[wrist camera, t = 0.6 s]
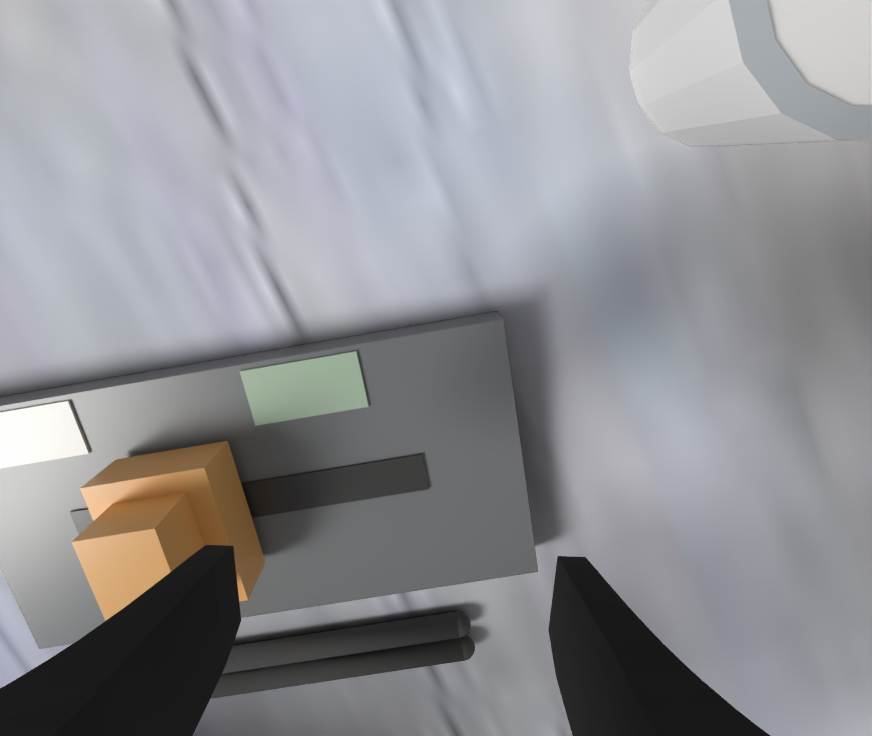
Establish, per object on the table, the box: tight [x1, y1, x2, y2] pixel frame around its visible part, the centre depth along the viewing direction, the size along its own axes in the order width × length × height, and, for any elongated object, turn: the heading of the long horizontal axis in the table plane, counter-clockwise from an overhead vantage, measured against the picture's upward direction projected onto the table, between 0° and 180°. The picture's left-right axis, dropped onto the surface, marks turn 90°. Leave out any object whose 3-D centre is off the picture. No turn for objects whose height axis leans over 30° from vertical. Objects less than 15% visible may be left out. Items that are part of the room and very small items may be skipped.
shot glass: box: [629, 0, 872, 146], centre depth 13 cm, size 7×7×7 cm
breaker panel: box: [0, 311, 538, 649], centre depth 20 cm, size 20×10×2 cm, turn 100°
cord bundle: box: [211, 611, 475, 698], centre depth 23 cm, size 12×2×1 cm, turn 100°
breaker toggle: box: [72, 441, 265, 621], centre depth 17 cm, size 4×5×4 cm
